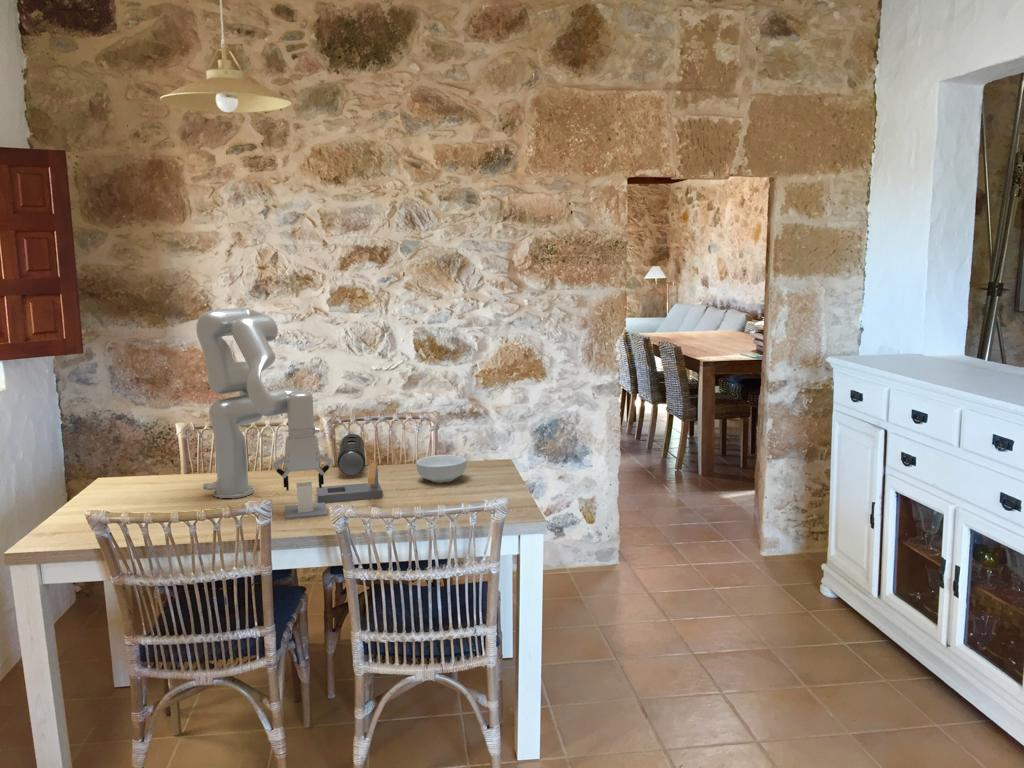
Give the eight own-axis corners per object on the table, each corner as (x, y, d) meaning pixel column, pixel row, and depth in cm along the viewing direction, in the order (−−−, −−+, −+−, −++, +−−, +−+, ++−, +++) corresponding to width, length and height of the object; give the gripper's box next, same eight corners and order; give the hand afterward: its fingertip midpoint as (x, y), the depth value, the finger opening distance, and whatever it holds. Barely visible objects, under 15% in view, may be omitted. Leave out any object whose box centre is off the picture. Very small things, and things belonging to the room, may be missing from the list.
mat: (285, 519, 250) (285, 517, 249) (285, 507, 261) (285, 506, 261) (327, 515, 253) (327, 513, 253) (325, 503, 264) (324, 502, 264)
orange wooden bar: (375, 484, 254) (375, 477, 254) (366, 484, 254) (366, 477, 254) (377, 467, 274) (377, 461, 274) (369, 467, 274) (369, 461, 273)
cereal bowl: (456, 471, 301) (456, 452, 300) (474, 482, 286) (473, 462, 285) (410, 477, 294) (409, 457, 293) (426, 489, 279) (425, 468, 278)
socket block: (318, 503, 265) (317, 478, 263) (316, 494, 274) (315, 470, 273) (382, 497, 270) (381, 472, 268) (379, 489, 279) (378, 465, 278)
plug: (298, 512, 254) (296, 486, 253) (297, 508, 258) (296, 483, 257) (313, 511, 255) (311, 485, 254) (312, 507, 259) (311, 481, 258)
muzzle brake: (365, 459, 321) (364, 432, 319) (366, 478, 293) (364, 449, 292) (340, 460, 319) (338, 433, 317) (338, 480, 292) (336, 451, 290)
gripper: (330, 428, 259) (332, 482, 262) (271, 432, 254) (274, 487, 257) (331, 433, 252) (334, 489, 255) (271, 437, 247) (274, 494, 250)
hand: (304, 488), depth 256 cm, fingers open, 9 cm apart
